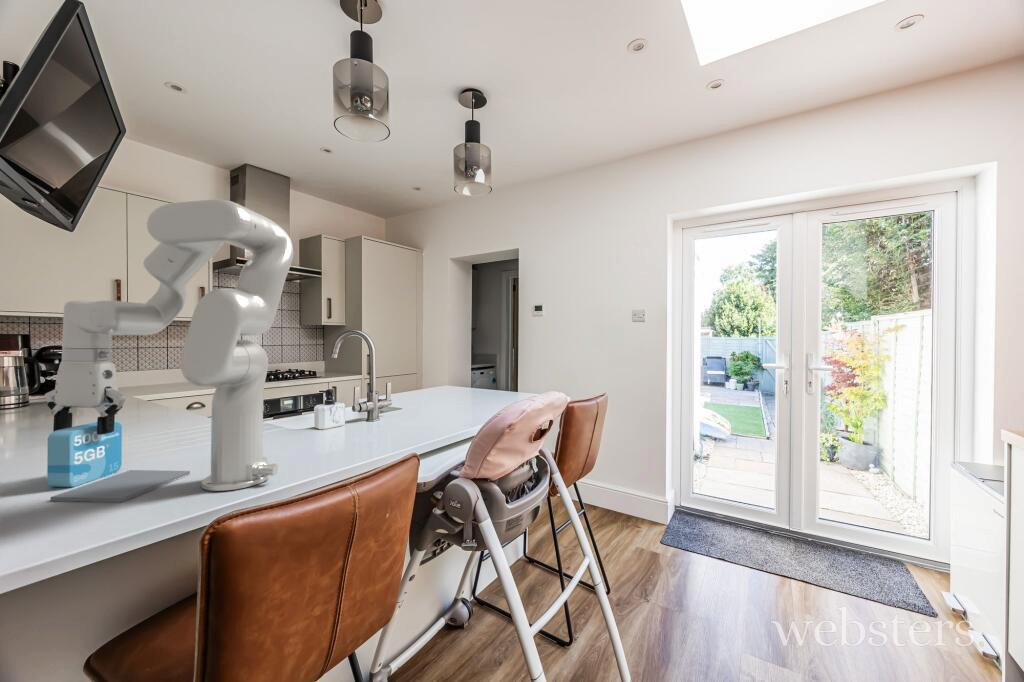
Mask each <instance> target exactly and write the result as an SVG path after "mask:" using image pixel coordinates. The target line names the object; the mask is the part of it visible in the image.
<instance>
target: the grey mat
mask: <svg viewBox="0 0 1024 682" xmlns="http://www.w3.org/2000/svg"><path fill="white" fill-rule="evenodd" d="M188 474H190V475H191V471H190V470H153V469H151V470H150V469H149V470H148V469H147V470H146V469H145V470H144V469H143V470H142V469H139V470H137V469H129V470H127V471H123V472H120V473H119V474H115V475H112V476H109V477H106V478H104V479H100V480H97V481H94V482H91V483H87V484H85V485H81V486H80V487H79V486H78V487H76V488H73V489H70V490H68V491H67V490H66V491H64V492H62V493H61V492H60V493H58V494H55V495H53V496H51V497H50V502H74V501H90V503H92V502H93V503H124V502H126V501H129V500H130V499H129V498H131V499H133V498H132V497H134V498H136V497H138V496H141V495H143V494H146V493H149V492H150V491H153V490H155V488H156V489H158V488H161V487H163V486H164V485H165V486H166V485H167V483H168V484H170V483H172V482H171V481H173V480H175V479H177V480H179V479H178V478H180V477H182V478H184V477H183V476H185V475H187V476H189V475H188ZM185 477H186V476H185ZM180 479H181V478H180ZM175 481H176V480H175ZM169 482H170V483H169ZM173 482H174V481H173ZM162 485H163V486H162ZM145 492H146V493H145ZM142 493H143V494H142ZM140 494H141V495H140ZM135 496H136V497H135ZM128 499H129V500H128ZM125 500H126V501H125ZM91 501H92V502H91ZM123 501H124V502H123Z"/></svg>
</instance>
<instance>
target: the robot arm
mask: <svg viewBox="0 0 1024 682" xmlns="http://www.w3.org/2000/svg"><path fill="white" fill-rule="evenodd" d="M146 228H147V231H148V234H149V235H150V236H151V237H152V239H154V240H156V241H157V242H159V244H157V246H156V247H155V248H154V249H152V251H151V252H150V253H149V254H148V255H147V256H146V257H145V258H144V260H143V267H144V269H145V270H146V272H147V273H148V274H149V275H151V276H152V277H153V278H154V279H156V280H157V281H158V282H159V287H158V289H157V290H156V292H155V293H154V294H153V295H152V296H151V297H150V299H148V300H147V301H146V302H145V303H142V302H141V303H140V302H132V301H130V302H129V301H120V300H97V301H93V300H92V301H91V300H69V301H67V302H66V303H65V304H64V305H63V315H62V316H63V317H62V319H63V320H62V342H61V361H60V362H59V366H58V370H57V373H56V378H55V385H54V386H55V387H54V389H52V390H51V391H48V392H46V393H45V394H44V398H45V401H46V402H47V403H46V404H47V407H48V408H49V409H50V414H51V415H52V416H53V429H52V430H53V431H52V432H54V431H56V430H61V429H65V428H70V427H73V415H74V414H73V412H72V409H73V408H82V409H83V408H85V409H87V408H88V409H95V410H96V412H98V414H99V415H100V416H98V417H97V419H96V420H97V421H96V422H97V434H98V435H102V434H107V433H111V432H114V422H116V421H115V419H116V418H115V417H116V415H118V413H119V411H120V410H122V408H123V405H124V404H125V401H126V400H127V397H126V395H124V394H122V393H121V392H119V385H118V375H117V369H116V365H115V363H114V362H111V360H112V358H113V356H114V354H113V352H112V337H113V336H150V335H151V336H153V335H155V334H158V333H159V332H162V331H163V330H164V329H166V327H168V326H169V325H170V324H171V323H172V322H173V321H174V320H175V319H176V318H177V317H178V316H179V315H180V313H181V312H182V310H183V309H184V307H185V303H186V299H187V285H188V283H189V282H190V281H191V280H192V279H193V278H194V277H195V276H196V275H197V273H198V272H200V270H201V269H203V267H204V266H205V265H206V264H207V263H208V262H209V261H210V260H211V259H212V258H213V257H214V256H215V255H216V254H217V252H219V250H220V249H221V248H222V247H223V245H224V244H228V245H230V246H234V247H235V248H239V249H243V250H247V251H248V252H250V253H251V254H252V256H251V257H249V259H248V260H247V261H246V262H245V264H244V265H243V266H242V269H241V270H240V273H239V277H238V281H237V284H236V286H235V289H233V288H226V287H225V288H216V289H213V290H211V291H208V292H207V293H205V294H204V295H203V296H202V297H201V298H200V299H199V301H198V302H197V304H196V306H195V307H194V310H193V313H192V316H191V318H190V319H191V320H190V323H189V327H188V330H187V333H186V337H185V340H184V344H183V347H182V350H181V354H180V355H181V356H180V365H179V366H180V371H181V373H182V375H183V377H184V379H185V380H186V381H188V382H189V383H190V384H192V385H194V386H199V387H202V388H203V387H204V388H205V387H208V388H209V387H216V388H215V390H214V392H213V396H212V399H211V414H210V415H211V416H210V417H211V419H210V420H211V421H210V422H211V423H210V426H211V428H210V475H208V476H206V477H204V479H202V480H201V488H203V489H204V490H205V491H210V492H211V491H212V492H224V491H226V492H227V491H234V490H240V489H244V488H250V487H253V486H256V485H258V484H261V483H265V481H268V480H269V478H270V477H271V476H275V475H277V474H278V471H279V464H278V463H271V464H270V463H269V462H268V457H264V456H263V455H264V454H263V453H264V452H263V451H264V448H263V447H264V446H263V445H264V442H263V437H264V435H263V434H264V432H263V431H264V423H263V422H264V394H265V393H264V392H265V384H266V379H267V376H268V375H267V374H268V369H269V357H268V354H267V352H266V350H265V349H264V348H263V347H262V345H260V344H259V343H258V342H255V341H253V340H248V339H239V338H240V336H259V335H262V334H265V333H267V332H268V331H269V330H270V329H271V328H272V326H273V324H274V321H275V318H276V314H277V312H278V306H279V303H280V302H281V301H280V300H281V297H282V294H283V291H284V290H283V289H284V286H285V282H286V279H287V277H288V274H289V271H290V268H291V265H292V262H293V258H294V245H293V241H292V239H291V237H290V236H289V234H288V233H287V232H286V230H284V228H283V227H281V226H280V225H279V224H277V223H276V222H275V221H273V220H271V219H270V218H268V217H266V216H264V215H262V214H260V213H259V212H258V213H257V212H255V211H254V210H251V209H249V208H248V207H245V206H243V205H241V204H240V203H237V202H234V201H231V200H227V199H219V198H218V199H217V198H216V199H203V200H202V199H201V200H190V201H178V202H170V203H169V202H168V203H166V204H163V205H160V206H158V207H157V208H155V209H154V210H152V212H151V213H150V214H149V216H148V218H147V222H146Z"/></svg>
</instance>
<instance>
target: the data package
mask: <svg viewBox="0 0 1024 682" xmlns="http://www.w3.org/2000/svg"><path fill="white" fill-rule="evenodd" d="M122 439H123V425H122V423H120V422H119V421H114V432H111V433H107V434H102V435H98V434H97V421H95V422H90V423H86V424H81V425H76V426H72V427H70V428H65V429H61V430H56V431H54V432H53V431H52V432H50V434H49V435H48V437H47V456H46V457H47V466H46V467H47V468H46V469H47V471H46V473H47V475H46V477H47V480H46V482H47V485H48V486H49V487H51V488H75V486H76V487H79V486H82V485H84V484H87V483H89V482H93V481H96V480H98V478H99V479H102V478H104V477H107V476H110V475H112V473H113V474H115V473H117V472H119V471H120V469H121V467H122V462H123V461H122V454H123V453H122V452H123V451H122V448H123V447H122V446H123V445H122V444H123V443H122V441H123V440H122ZM114 472H115V473H114ZM109 474H110V475H109ZM106 475H107V476H106ZM103 476H104V477H103ZM95 479H96V480H95ZM92 480H93V481H92ZM86 482H87V483H86ZM83 483H84V484H83ZM81 484H82V485H81ZM78 485H79V486H78Z"/></svg>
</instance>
